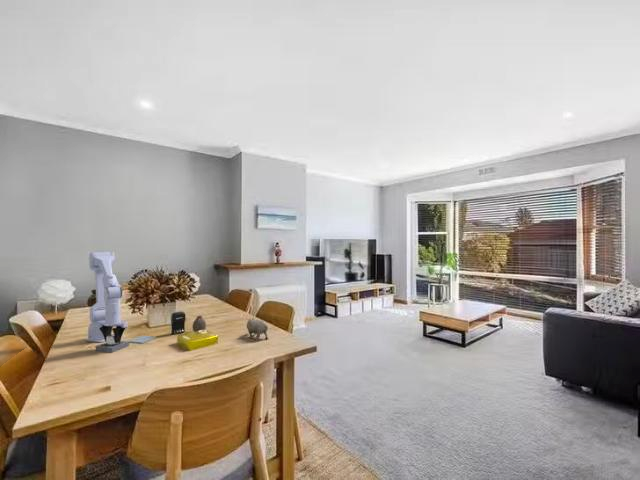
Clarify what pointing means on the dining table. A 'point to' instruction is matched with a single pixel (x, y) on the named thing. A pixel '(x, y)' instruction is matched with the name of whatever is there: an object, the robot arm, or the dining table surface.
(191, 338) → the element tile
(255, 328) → the rhinoceros figurine
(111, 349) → the frame
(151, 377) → the dining table surface
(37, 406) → the dining table surface
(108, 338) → the shiny metal cylinder
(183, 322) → the battery charger
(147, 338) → the mat
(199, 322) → the vase
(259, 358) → the dining table surface
